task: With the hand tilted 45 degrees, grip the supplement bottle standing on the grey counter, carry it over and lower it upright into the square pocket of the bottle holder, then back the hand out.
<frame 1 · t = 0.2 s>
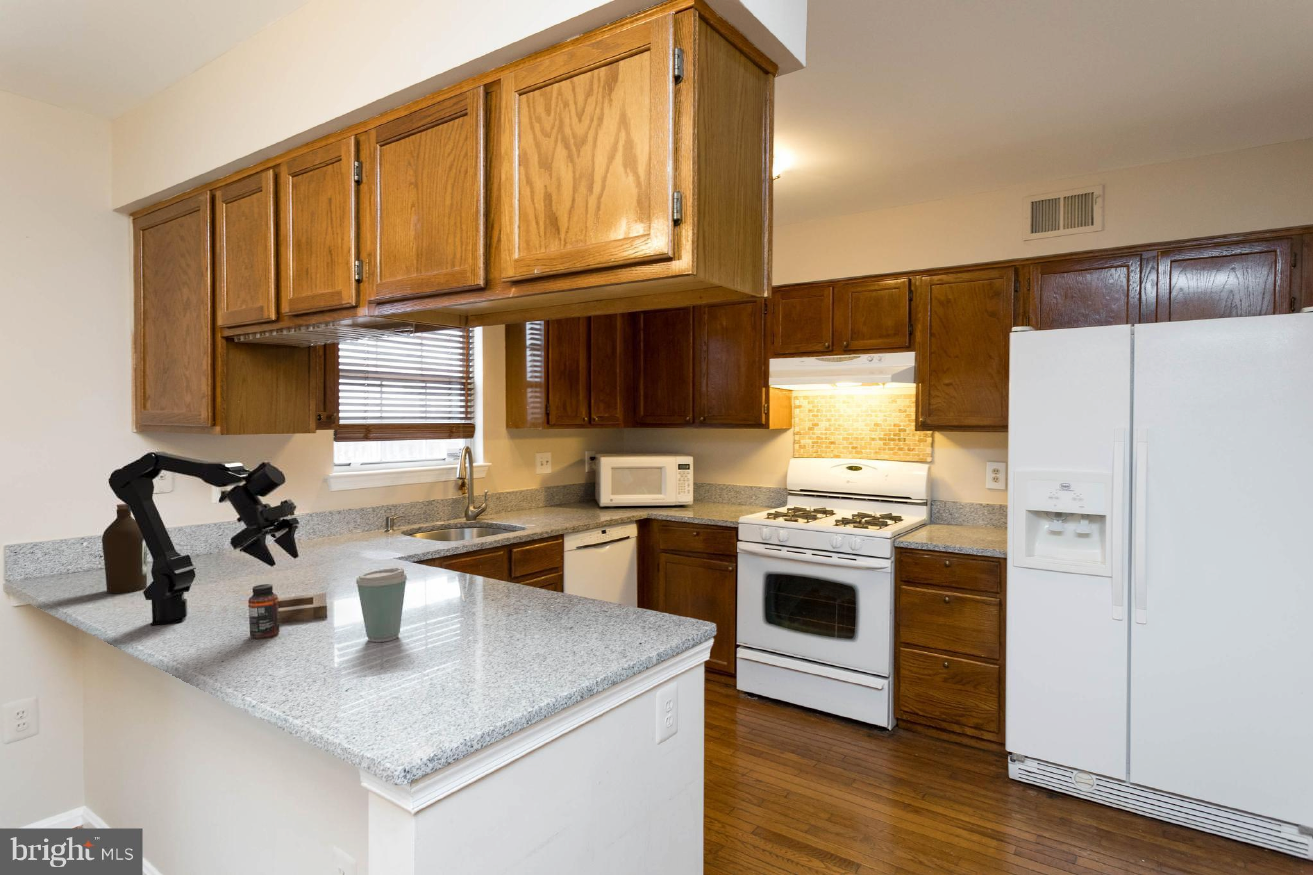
hand: (285, 561, 174), 15 cm above the countertop, tool tilted 35°, fingers open, 9 cm apart
bottle holder: (296, 614, 181), on the countertop
disposable coffee cup: (383, 638, 160), on the countertop
supplement bottle: (264, 636, 164), on the countertop
olive oil: (127, 590, 210), on the countertop
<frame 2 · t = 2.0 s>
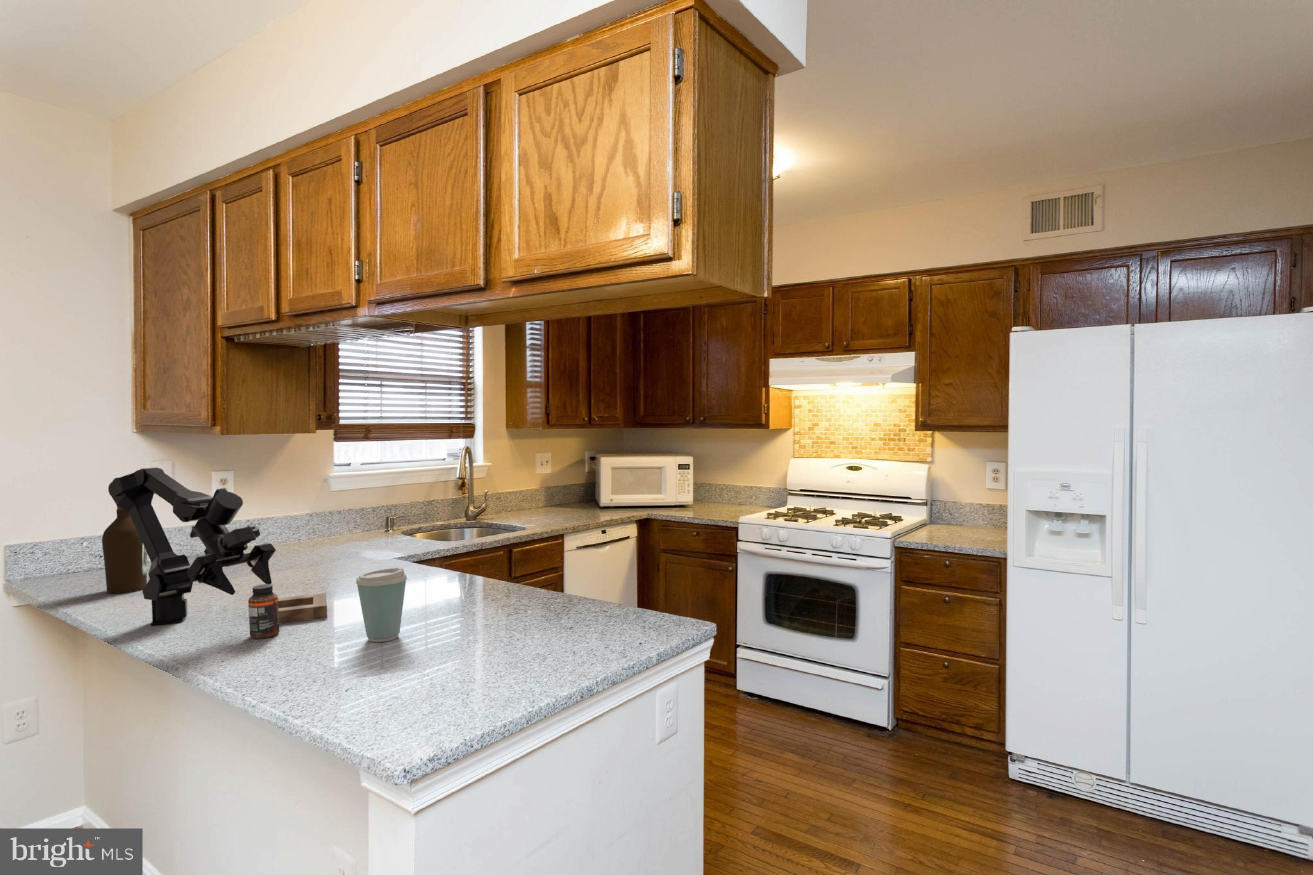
hand: (252, 588, 165), 10 cm above the countertop, tool tilted 45°, fingers open, 9 cm apart
nothing on the countertop moved.
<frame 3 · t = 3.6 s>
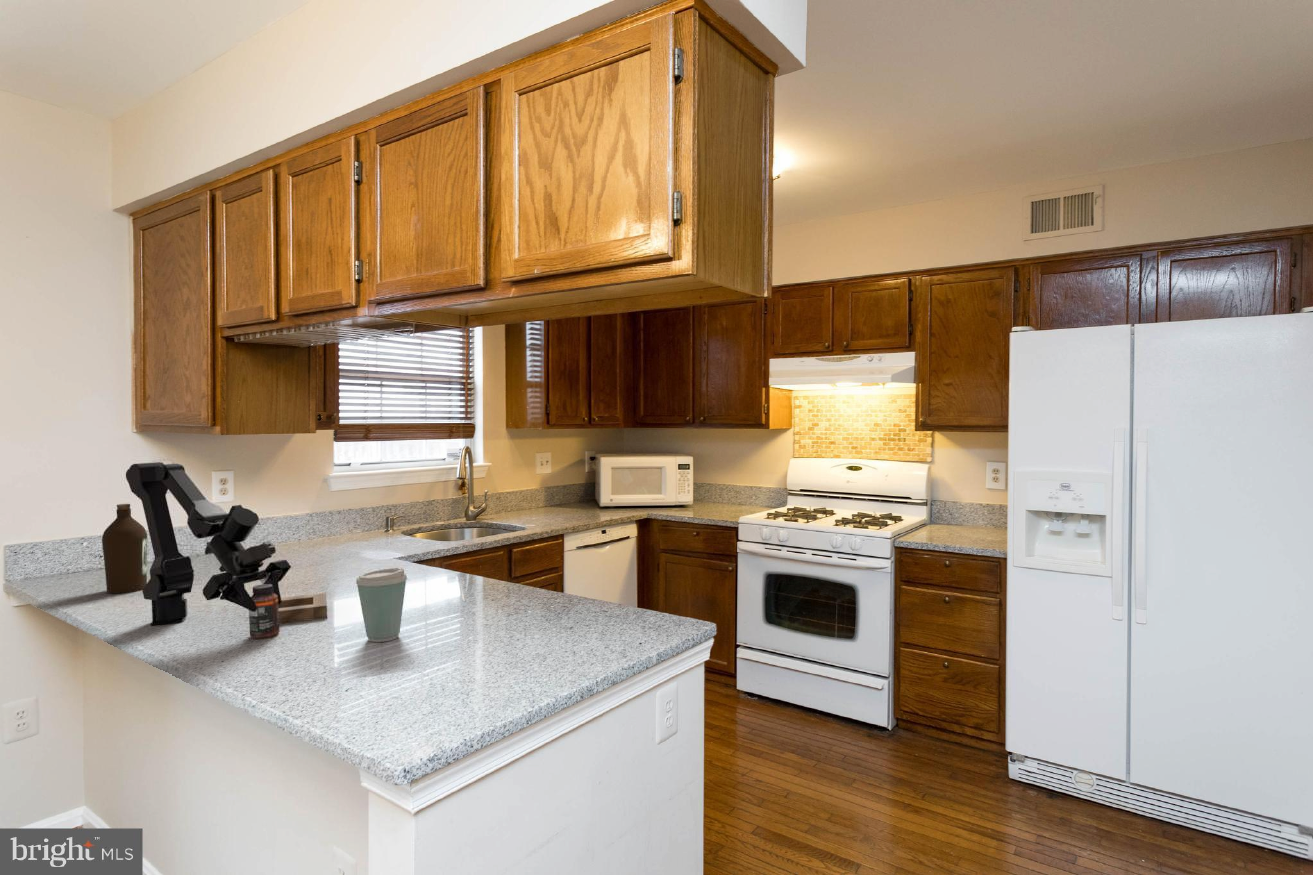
hand: (268, 606, 163), 7 cm above the countertop, tool tilted 45°, fingers closed on supplement bottle, 6 cm apart
supplement bottle: (264, 636, 164), on the countertop, touching gripper
everything else where it was.
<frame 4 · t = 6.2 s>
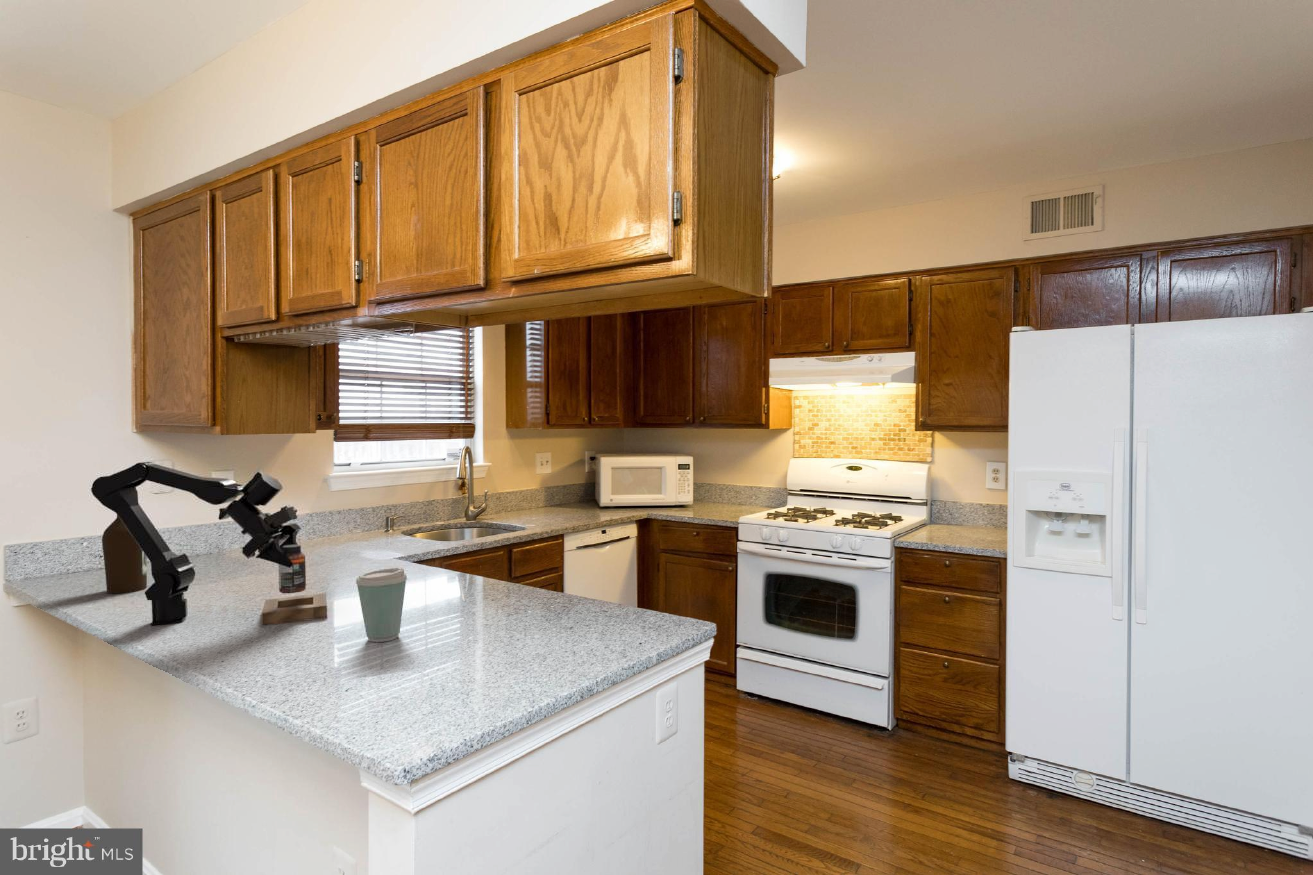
hand: (297, 563, 178), 13 cm above the countertop, tool tilted 45°, fingers closed on supplement bottle, 6 cm apart
supplement bottle: (292, 592, 178), point 6 cm above the countertop, touching gripper
everything else where it was.
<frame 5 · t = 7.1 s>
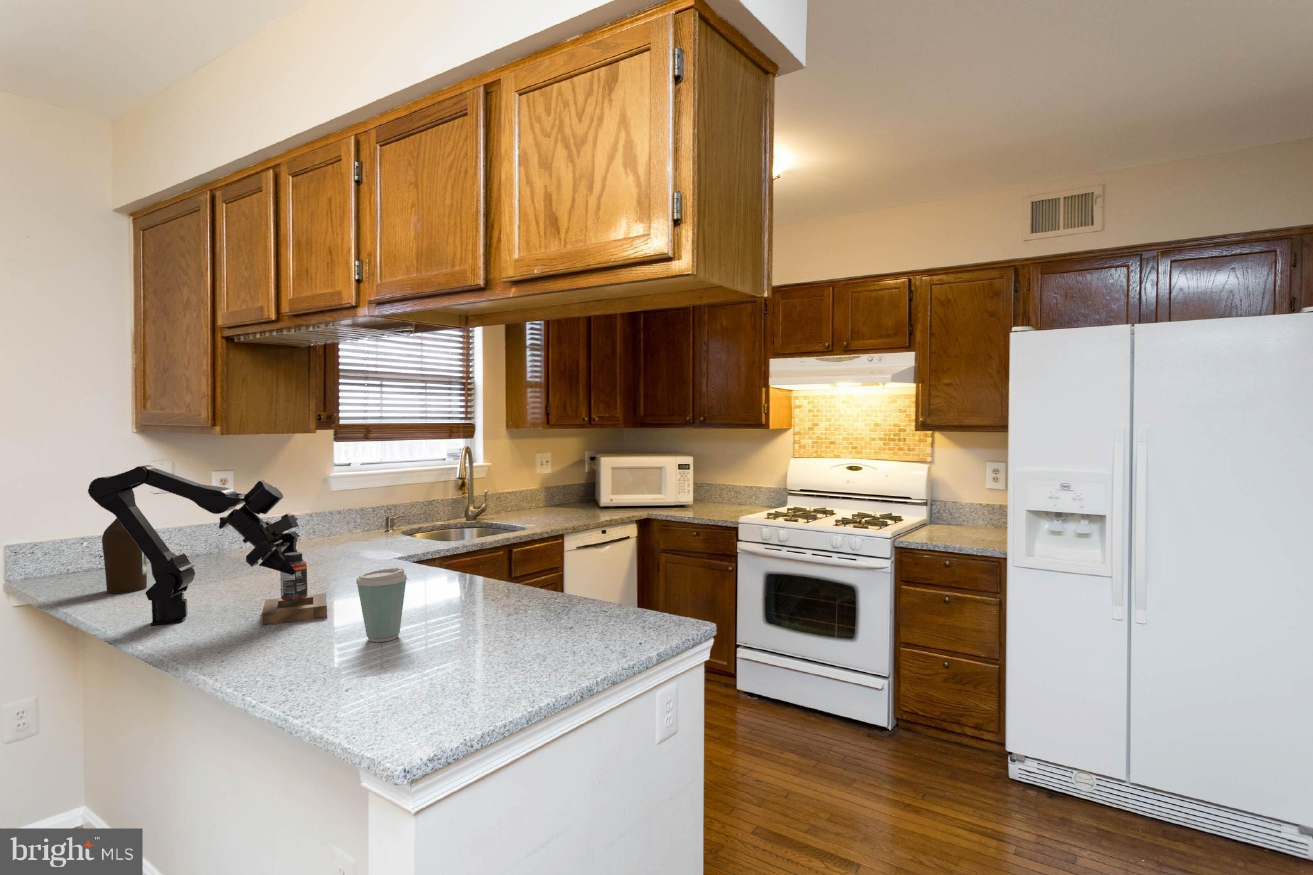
hand: (299, 570, 180), 11 cm above the countertop, tool tilted 45°, fingers closed on supplement bottle, 6 cm apart
supplement bottle: (294, 599, 180), point 4 cm above the countertop, touching gripper
everything else where it was.
when the fingers open (8 cm above the countertop, at t = 8.2 s): supplement bottle stays where it is, resting in bottle holder.
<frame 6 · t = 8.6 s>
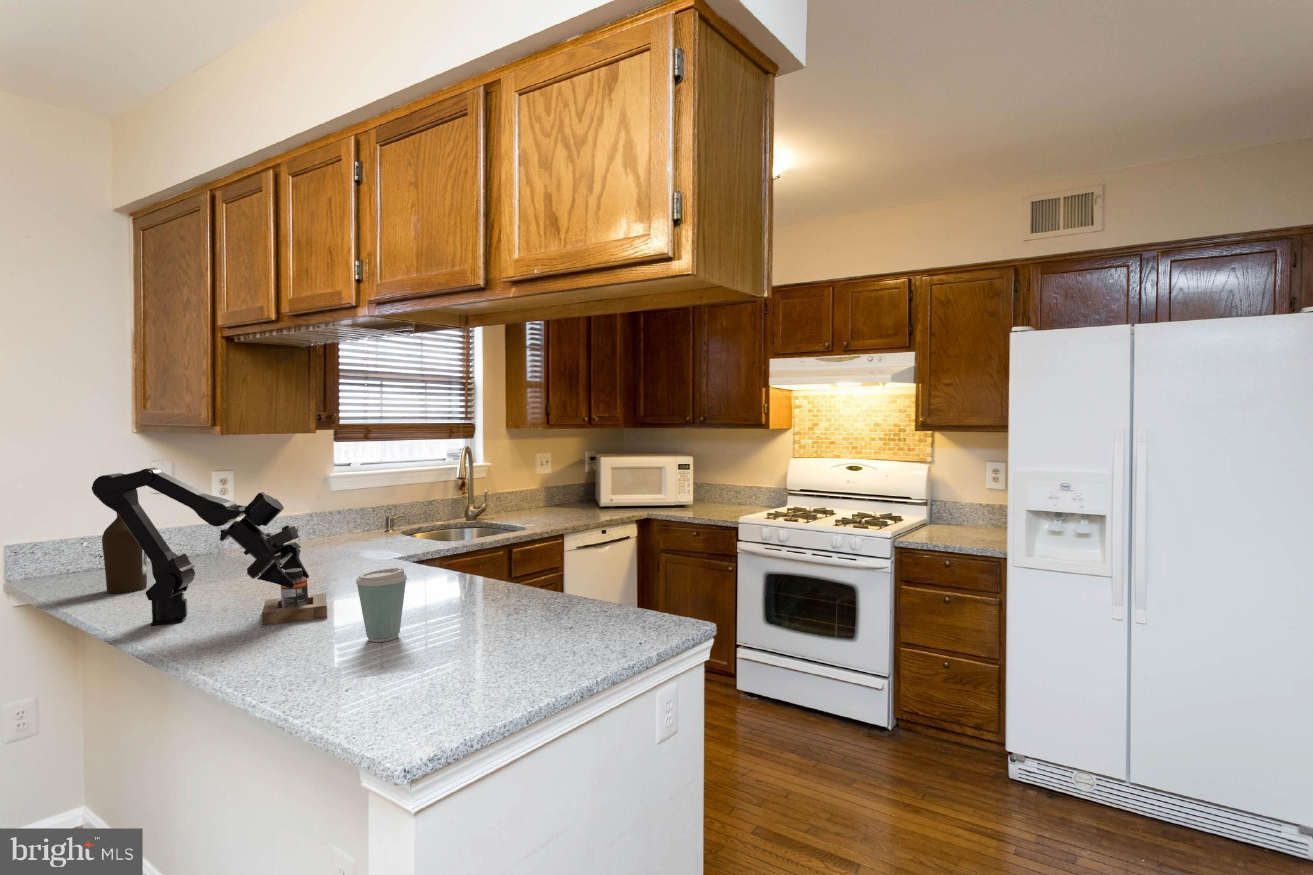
hand: (300, 582, 180), 8 cm above the countertop, tool tilted 45°, fingers open, 9 cm apart
supplement bottle: (295, 615, 180), resting in bottle holder
everything else where it was.
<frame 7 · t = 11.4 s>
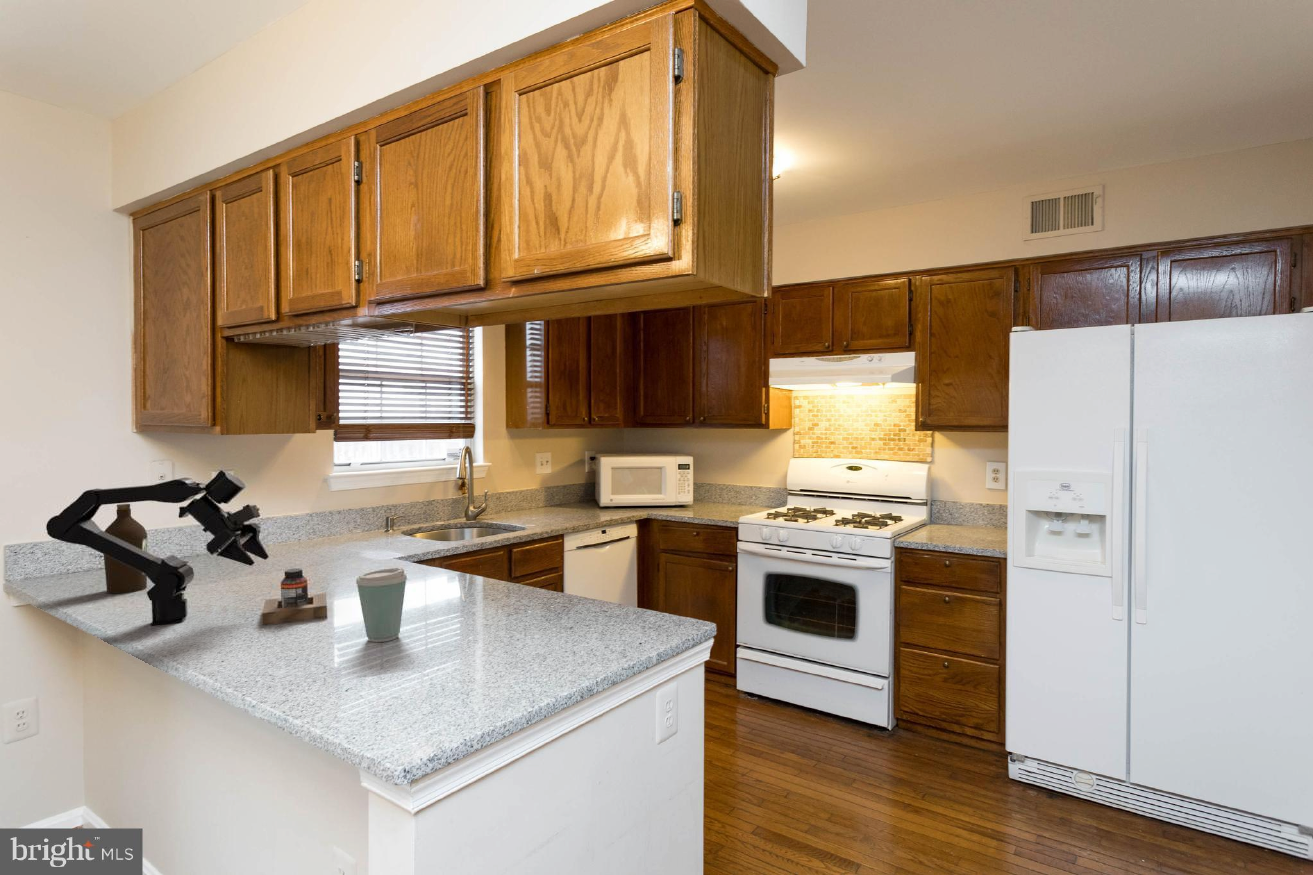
hand: (260, 561, 180), 14 cm above the countertop, tool tilted 45°, fingers open, 9 cm apart
nothing on the countertop moved.
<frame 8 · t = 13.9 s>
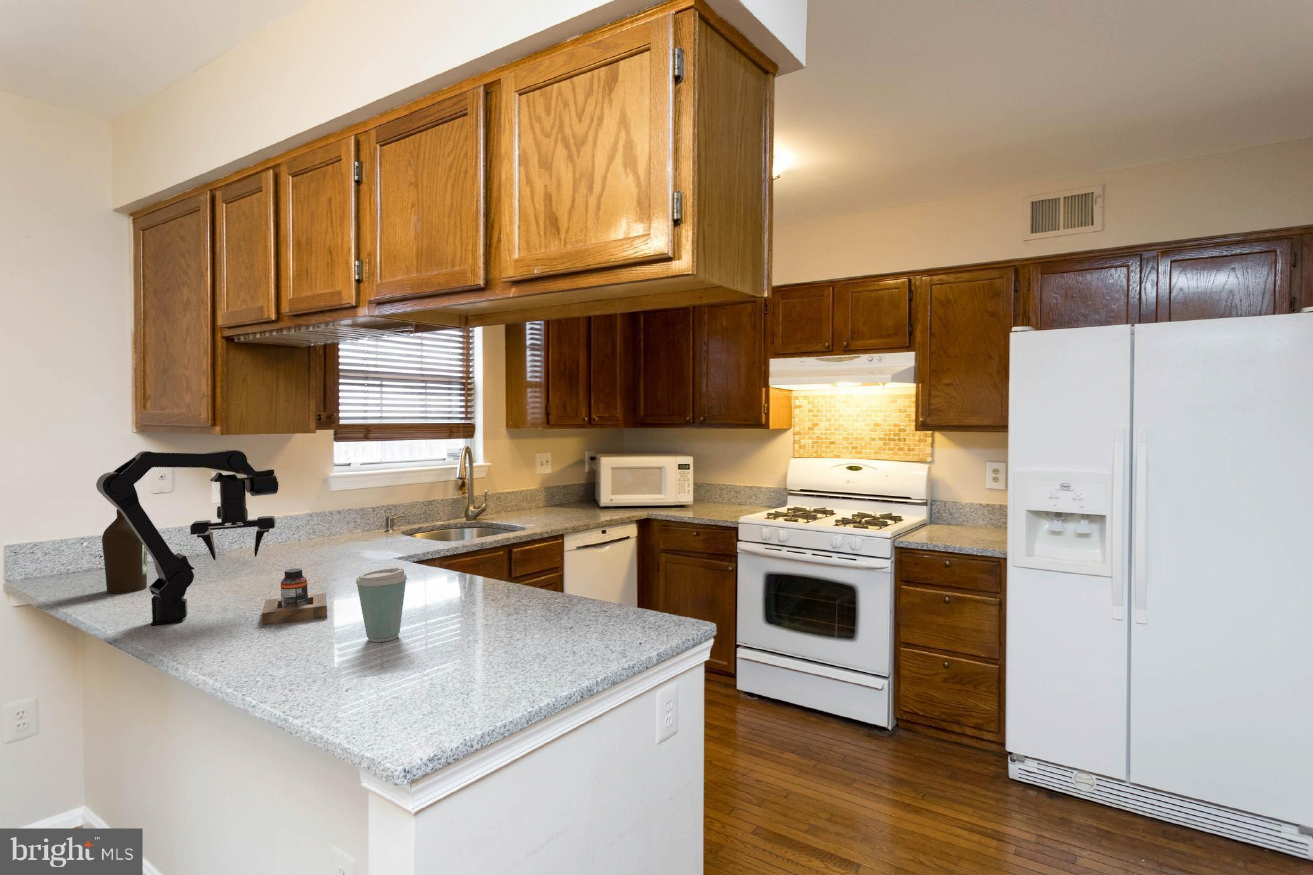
hand: (235, 557, 188), 13 cm above the countertop, tool pointing down, fingers open, 9 cm apart
nothing on the countertop moved.
at the end: supplement bottle 0.1 cm off-centre on the bottle holder, point 0.0 cm above the bottle holder's base; supplement bottle tilted 0°; the gripper is holding nothing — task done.
